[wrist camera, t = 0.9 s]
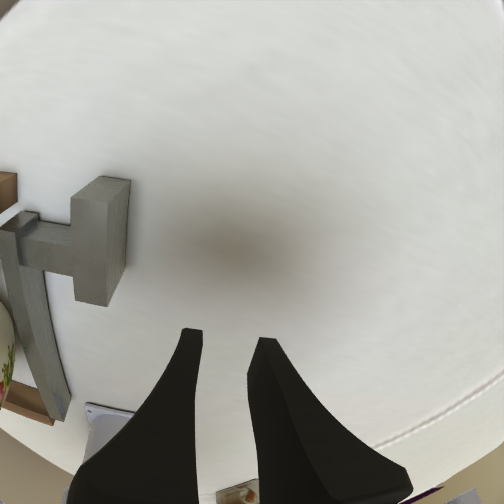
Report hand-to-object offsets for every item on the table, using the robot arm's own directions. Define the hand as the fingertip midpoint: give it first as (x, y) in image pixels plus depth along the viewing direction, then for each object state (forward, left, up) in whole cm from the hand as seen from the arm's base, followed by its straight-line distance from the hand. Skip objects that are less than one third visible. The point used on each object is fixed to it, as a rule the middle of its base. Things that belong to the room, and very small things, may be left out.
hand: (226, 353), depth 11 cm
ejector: (-9, +10, -9) cm, 16 cm away
